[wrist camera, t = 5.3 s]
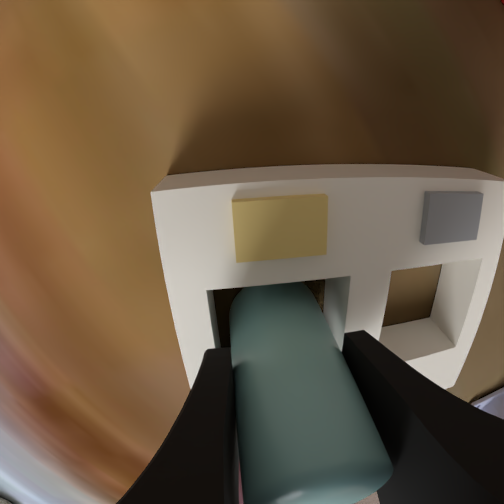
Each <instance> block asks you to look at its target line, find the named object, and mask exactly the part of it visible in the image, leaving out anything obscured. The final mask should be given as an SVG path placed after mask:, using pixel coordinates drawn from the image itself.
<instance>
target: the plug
mask: <svg viewBox="0 0 504 504" xmlns="http://www.w3.org/2000/svg"><path fill="white" fill-rule="evenodd" d="M229 323H230V340H231V356H232V366H233V378H234V392H235V413H236V426H237V438H238V450H239V462H240V473H241V484H242V494H243V504H354V503H356V502H358V501H360V500H362V499H364V498H366V497H367V496H369V495H371V494H372V493H374V492H375V491H377V490H378V489H379V488H381V487H382V486H383V485H384V484H385V483H386V482H387V481H388V480H389V479H390V477H391V476H392V473H393V465H392V463H391V461H390V458H389V456H388V454H387V451H386V449H385V447H384V444H383V442H382V440H381V437H380V435H379V433H378V431H377V428H376V426H375V424H374V422H373V419H372V417H371V415H370V413H369V411H368V408H367V406H366V404H365V402H364V400H363V397H362V395H361V393H360V391H359V389H358V386H357V384H356V382H355V380H354V378H353V376H352V373H351V371H350V369H349V367H348V365H347V363H346V361H345V359H344V356H343V354H342V352H341V350H340V348H339V346H338V344H337V342H336V340H335V338H334V335H333V333H332V331H331V329H330V327H329V325H328V323H327V321H326V319H325V317H324V315H323V313H322V311H321V309H320V307H319V305H318V303H317V301H316V299H315V297H314V295H313V293H312V291H311V290H310V289H309V288H308V287H307V286H306V285H305V284H304V283H302V282H301V281H300V282H290V283H280V284H270V285H260V286H249V287H244V288H243V289H242V290H241V291H240V292H239V293H238V294H237V295H236V297H235V298H234V300H233V302H232V304H231V307H230V312H229Z"/></svg>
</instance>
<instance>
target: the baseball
mask: <svg viewBox="0 0 504 504" xmlns="http://www.w3.org/2000/svg"><path fill="white" fill-rule="evenodd" d="M0 504H12V503H11V502H9V501H7V500H6V499H3V498H0Z"/></svg>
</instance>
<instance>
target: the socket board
mask: <svg viewBox="0 0 504 504" xmlns="http://www.w3.org/2000/svg"><path fill="white" fill-rule="evenodd" d="M151 198H152V205H153V212H154V219H155V225H156V231H157V237H158V243H159V249H160V255H161V260H162V266H163V271H164V276H165V281H166V286H167V291H168V296H169V301H170V306H171V310H172V315H173V320H174V324H175V328H176V333H177V337H178V341H179V345H180V350H181V354H182V358H183V362H184V366H185V369H186V373H187V377H188V381H189V385H190V388H192V386H193V384H194V381H195V379H196V376H197V374H198V371H199V368H200V366H201V362H202V359H203V356H204V352H205V351H206V350H207V349H212V348H221V345H220V338H219V331H218V324H217V316H216V309H215V302H214V294H213V290H215V289H227V288H238V287H249V286H260V285H270V284H280V283H290V282H300V281H309V280H318V279H325V293H324V308H323V315H324V317H325V319H326V321H327V323H328V325H329V327H330V329H331V331H332V333H333V335H334V338H335V340H336V342H337V344H338V346H339V348H340V350H341V352H342V346H343V339H344V333H348V332H354V331H360V330H365V331H366V332H367V333H369V334H370V335H371V336H373V337H374V338H375V339H376V340H378V341H379V342H380V343H382V344H383V345H384V346H385V347H387V348H388V349H389V350H390V351H392V352H393V353H394V354H396V355H397V356H398V357H399V358H401V359H402V360H403V361H405V362H406V363H407V364H409V365H410V366H411V367H413V368H414V369H415V370H417V371H418V372H419V373H421V374H422V375H424V376H425V377H427V378H428V379H429V380H431V381H432V382H434V383H435V384H437V385H439V386H440V387H442V388H443V389H447V388H449V387H452V386H454V384H455V382H456V380H457V377H458V375H459V373H460V371H461V369H462V366H463V364H464V362H465V359H466V357H467V355H468V352H469V350H470V347H471V345H472V342H473V340H474V337H475V334H476V332H477V329H478V326H479V323H480V321H481V318H482V315H483V312H484V309H485V306H486V303H487V299H488V296H489V293H490V289H491V286H492V283H493V279H494V275H495V271H496V268H497V264H498V260H499V255H500V251H501V247H502V242H503V237H504V179H503V178H500V177H497V176H494V175H491V174H489V173H486V172H483V171H480V170H477V169H473V168H462V167H447V166H428V165H399V164H322V165H292V166H271V167H255V168H240V169H227V170H216V171H205V172H195V173H185V174H176V175H167V176H165V177H164V178H163V179H162V180H161V182H160V183H159V184H158V185H157V186H156V187H155V188H154V189H153V190H152V191H151ZM438 264H442V268H441V273H440V277H439V282H438V286H437V291H436V295H435V299H434V303H433V307H432V311H431V315H430V317H429V318H424V319H420V320H415V321H410V322H406V323H401V324H396V325H391V326H386V327H382V323H383V318H384V313H385V307H386V302H387V296H388V290H389V284H390V278H391V271H394V270H401V269H409V268H416V267H424V266H431V265H438ZM230 351H231V348H230ZM231 359H232V356H231Z"/></svg>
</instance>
